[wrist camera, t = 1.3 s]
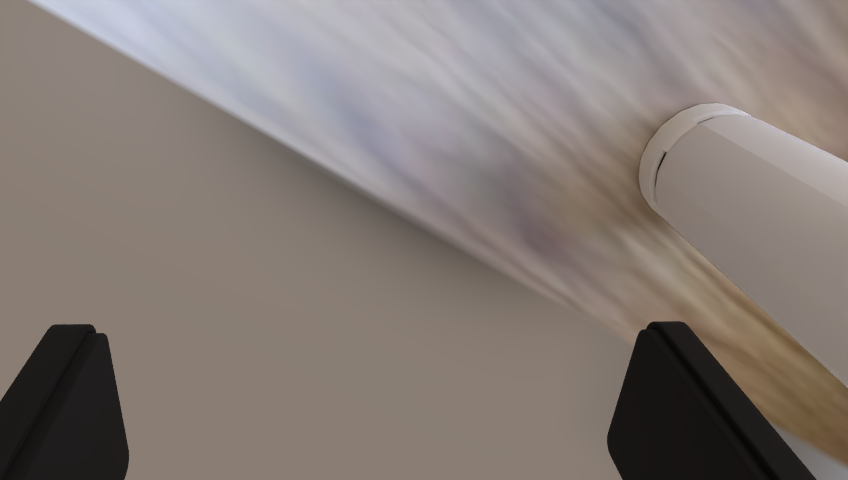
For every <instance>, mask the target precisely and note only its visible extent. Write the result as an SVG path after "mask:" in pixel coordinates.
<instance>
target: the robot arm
mask: <svg viewBox="0 0 848 480" xmlns="http://www.w3.org/2000/svg"><path fill="white" fill-rule="evenodd" d="M607 444H608V450H609V453H610V455H611V457H612V460H613V461H614V464H615V465H616V467H617V469H618V471H619V473H620V475H621V477H622V479H623V480H816V478H815V477H814V476H813V475H812V474H811V472H810V471H809V470H808V469H807V468H806V466H805V465H804V464H803V463H802V462H801V460H800V459H799V458H798V457H797V456H796V454H795V453H794V452H793V451H792V450H791V448H790V447H789V446H788V445H787V444H786V442H785V441H784V440H783V439H782V438H781V437H780V435H779V434H778V433H777V432H776V431H775V429H774V428H773V427H772V426H771V425H770V423H769V422H768V421H767V420H766V419H765V417H764V416H763V415H762V414H761V413H760V411H759V410H758V409H757V408H756V407H755V405H754V404H753V403H752V402H751V401H750V399H749V398H748V397H747V396H746V395H745V393H744V392H743V391H742V390H741V389H740V387H739V386H738V385H737V384H736V383H735V382H734V380H733V379H732V378H731V377H730V376H729V374H728V373H727V372H726V371H725V370H724V368H723V367H722V366H721V365H720V364H719V362H718V361H717V360H716V359H715V358H714V356H713V355H712V354H711V353H710V352H709V350H708V349H707V348H706V347H705V346H704V344H703V343H702V342H701V341H700V340H699V338H698V337H697V336H696V335H695V334H694V332H693V331H692V330H691V329H690V328H689V326H688V325H686V324H685V323H684V322H680V321H674V322H651V323H650V324H649V325H648V326H647V328H646V329H644V330H641V331H640V332H639V334H638V336H637V340H636V343H635V346H634V350H633V353H632V356H631V360H630V363H629V366H628V369H627V373H626V376H625V379H624V382H623V386H622V389H621V392H620V395H619V399H618V402H617V406H616V409H615V412H614V416H613V418H612V422H611V425H610V428H609V432H608V436H607ZM128 462H129V450H128V445H127V439H126V434H125V428H124V423H123V418H122V413H121V407H120V401H119V396H118V391H117V385H116V380H115V375H114V369H113V364H112V359H111V353H110V348H109V342H108V339H107V336H106V335H105V334H104V333H96V330H95V328H94V326H92V325H90V324H74V325H52V326H51V327H50V328H49V329H48V330H47V332H46V333H45V335H44V336H43V338H42V340H41V341H40V342H39V344H38V345H37V347H36V348H35V350H34V351H33V353H32V354H31V356H30V357H29V359H28V360H27V362H26V363H25V365H24V366H23V368H22V370H21V371H20V373H19V374H18V376H17V377H16V379H15V380H14V382H13V383H12V385H11V386H10V388H9V389H8V391H7V392H6V394H5V395H4V397H3V398H2V400H1V401H0V480H124V479H125V476H126V472H127V469H128Z"/></svg>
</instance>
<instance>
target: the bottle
mask: <svg viewBox="0 0 848 480" xmlns="http://www.w3.org/2000/svg"><path fill="white" fill-rule="evenodd" d="M712 117H714V118H712ZM709 118H711V119H709ZM707 119H709V120H707ZM704 120H706V121H704ZM701 121H703V122H701ZM699 122H701V123H699ZM697 123H698V124H697ZM665 152H667V153H666V155H665V158H664V160H663V162H662V164H661V166H660V168H659V170H658V174H657V180H656V186H655V179H656V173H657V168H658V166H659V164H660V161H661V159H662V157H663V155H664V153H665ZM638 179H639V184H640V190H641V194H642V195H643V197H644V199H645V200H646V202H647V203H648V205H649V206H650V207H651V208H652V209H653V210H654V211H655V212H656V213H657V214H658V215H659V216H661V217H662V218H663V219H665V220H666V221H667V222H668V224H669V225H670V226H671V227H673V228H674V229H675V230H676V231H677V232H678V233H679V234H680V235H681V236H682V237H683V238H685V239H686V240H687V241H688V242H689V243H690V244H691V245H692V246H693V247H694V248H695V249H697V250H698V251H699V252H700V253H701V254H702V255H703V256H704V257H705V258H706V259H707V260H709V261H710V262H711V263H712V264H713V265H714V266H715V267H716V268H717V269H718V270H719V271H721V272H722V273H723V274H724V275H725V276H726V277H727V278H728V279H729V280H730V281H731V282H733V283H734V284H735V285H736V286H737V287H738V288H739V289H740V290H741V291H742V292H743V293H745V294H746V295H747V296H748V297H749V298H750V299H751V300H752V301H753V302H754V303H755V304H757V305H758V306H759V307H760V308H761V309H762V310H763V311H764V312H765V313H766V314H767V315H769V316H770V317H771V318H772V319H773V320H774V321H775V322H776V323H777V324H778V325H779V326H781V327H782V328H783V329H784V330H785V331H786V332H787V333H788V334H789V335H790V336H792V337H793V338H794V339H795V340H796V341H797V342H798V343H799V344H800V345H801V346H802V347H804V348H805V349H806V350H807V351H808V352H809V353H810V354H811V355H812V356H813V357H814V358H816V359H817V360H818V361H819V362H820V363H821V364H822V365H823V366H824V367H825V368H826V369H828V370H829V371H830V372H831V373H832V374H833V375H834V376H835V377H836V378H837V379H838V380H840V381H841V382H842V383H843V384H844V385H845V386H846V387H847V388H848V162H846V161H844V160H842V159H840V158H838V157H836V156H834V155H832V154H829V153H827V152H825V151H823V150H821V149H819V148H817V147H815V146H813V145H811V144H809V143H807V142H805V141H803V140H801V139H798V138H796V137H794V136H792V135H790V134H788V133H786V132H784V131H782V130H780V129H778V128H776V127H774V126H772V125H770V124H767V123H765V122H763V121H761V120H758V119H755V118H753V117H752V116H750V115H749V114H747V113H745V112H743V111H741V110H739V109H736V108H734V107H731V106H727V105H724V104H720V103H710V104H699V105H696V106H693V107H691V108H688V109H686V110H683V111H680V112H679V113H677V114H676V115H675V116H673V117H672V118H671V119H669V120H668V121H667V122H665V123H664V124H663V125H662V126H661V127H660V128H659V129H658V131H657V132H656V133H655V134H654V135H653V137H652V138H651V139H650V140H649V142H648V144H647V146H646V149H645V151H644V153H643V155H642V157H641V161H640V168H639V174H638Z"/></svg>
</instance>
